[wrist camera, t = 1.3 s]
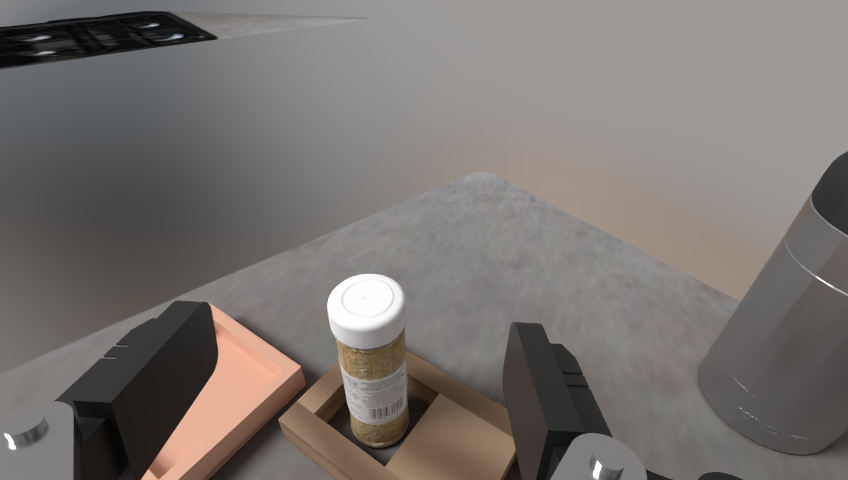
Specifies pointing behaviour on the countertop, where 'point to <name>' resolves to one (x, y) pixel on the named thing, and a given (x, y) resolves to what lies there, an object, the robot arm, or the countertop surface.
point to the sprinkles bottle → (372, 356)
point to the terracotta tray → (228, 404)
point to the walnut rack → (425, 445)
